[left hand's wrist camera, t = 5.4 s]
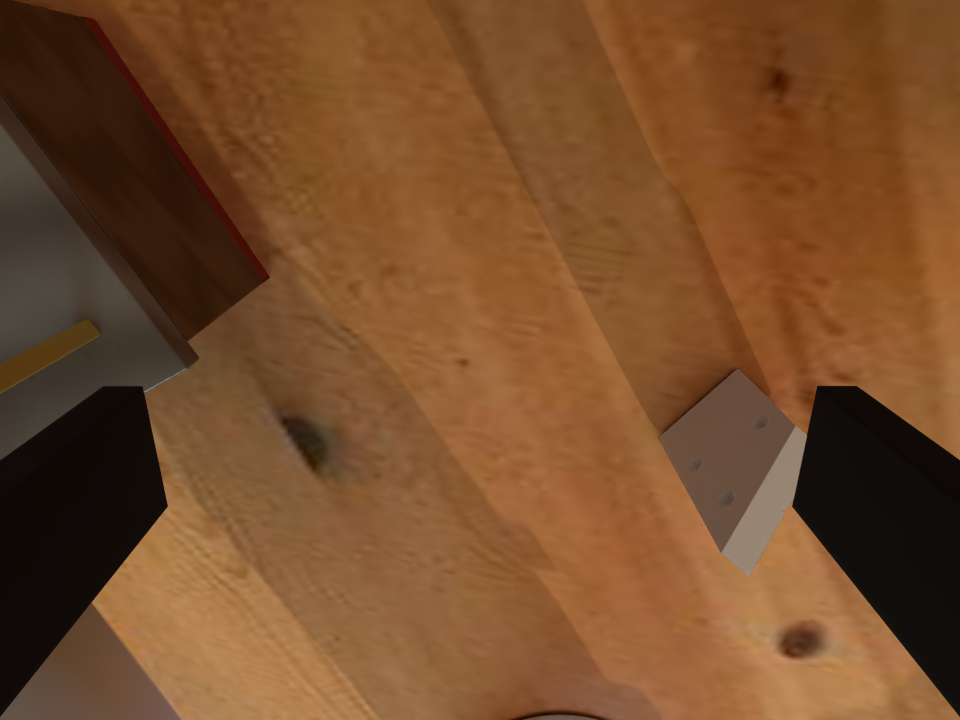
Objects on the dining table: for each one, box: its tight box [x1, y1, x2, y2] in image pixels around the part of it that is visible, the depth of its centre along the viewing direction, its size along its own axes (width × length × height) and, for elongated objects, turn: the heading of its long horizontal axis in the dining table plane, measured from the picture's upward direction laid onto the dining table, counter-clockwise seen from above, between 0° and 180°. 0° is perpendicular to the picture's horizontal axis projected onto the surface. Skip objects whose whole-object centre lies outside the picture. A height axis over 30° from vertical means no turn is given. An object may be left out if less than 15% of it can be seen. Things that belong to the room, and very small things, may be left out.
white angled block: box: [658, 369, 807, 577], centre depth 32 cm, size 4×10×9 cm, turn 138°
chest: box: [0, 0, 270, 341], centre depth 27 cm, size 13×10×10 cm
